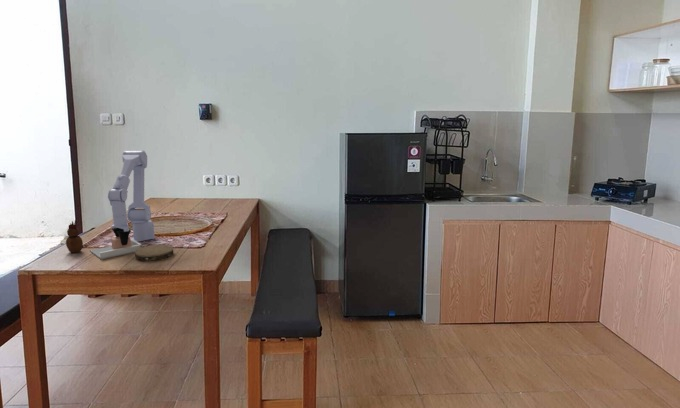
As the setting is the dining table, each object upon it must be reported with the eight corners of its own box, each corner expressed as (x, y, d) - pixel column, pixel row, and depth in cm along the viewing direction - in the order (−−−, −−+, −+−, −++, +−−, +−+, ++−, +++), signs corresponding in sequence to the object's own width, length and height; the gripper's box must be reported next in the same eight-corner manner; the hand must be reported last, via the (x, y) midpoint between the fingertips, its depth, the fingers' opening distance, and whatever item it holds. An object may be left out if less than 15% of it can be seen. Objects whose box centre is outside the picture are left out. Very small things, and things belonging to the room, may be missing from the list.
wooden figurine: (85, 251, 220) (82, 219, 217) (73, 254, 215) (69, 222, 212) (77, 249, 224) (73, 217, 221) (65, 252, 219) (61, 220, 216)
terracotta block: (112, 248, 219) (111, 237, 218) (128, 245, 224) (127, 234, 223) (115, 250, 216) (114, 239, 215) (131, 247, 221) (130, 236, 219)
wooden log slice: (142, 251, 221) (141, 245, 220) (177, 250, 222) (177, 244, 221) (129, 262, 205) (129, 256, 204) (167, 261, 206) (167, 255, 205)
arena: (130, 243, 232) (129, 237, 231) (142, 250, 221) (142, 244, 220) (90, 251, 220) (89, 245, 219) (101, 259, 209) (100, 252, 208)
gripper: (105, 213, 220) (108, 242, 223) (116, 219, 209) (119, 248, 212) (121, 211, 224) (123, 239, 227) (132, 216, 214) (135, 245, 217)
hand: (122, 243), depth 220 cm, fingers closed on terracotta block, 4 cm apart
